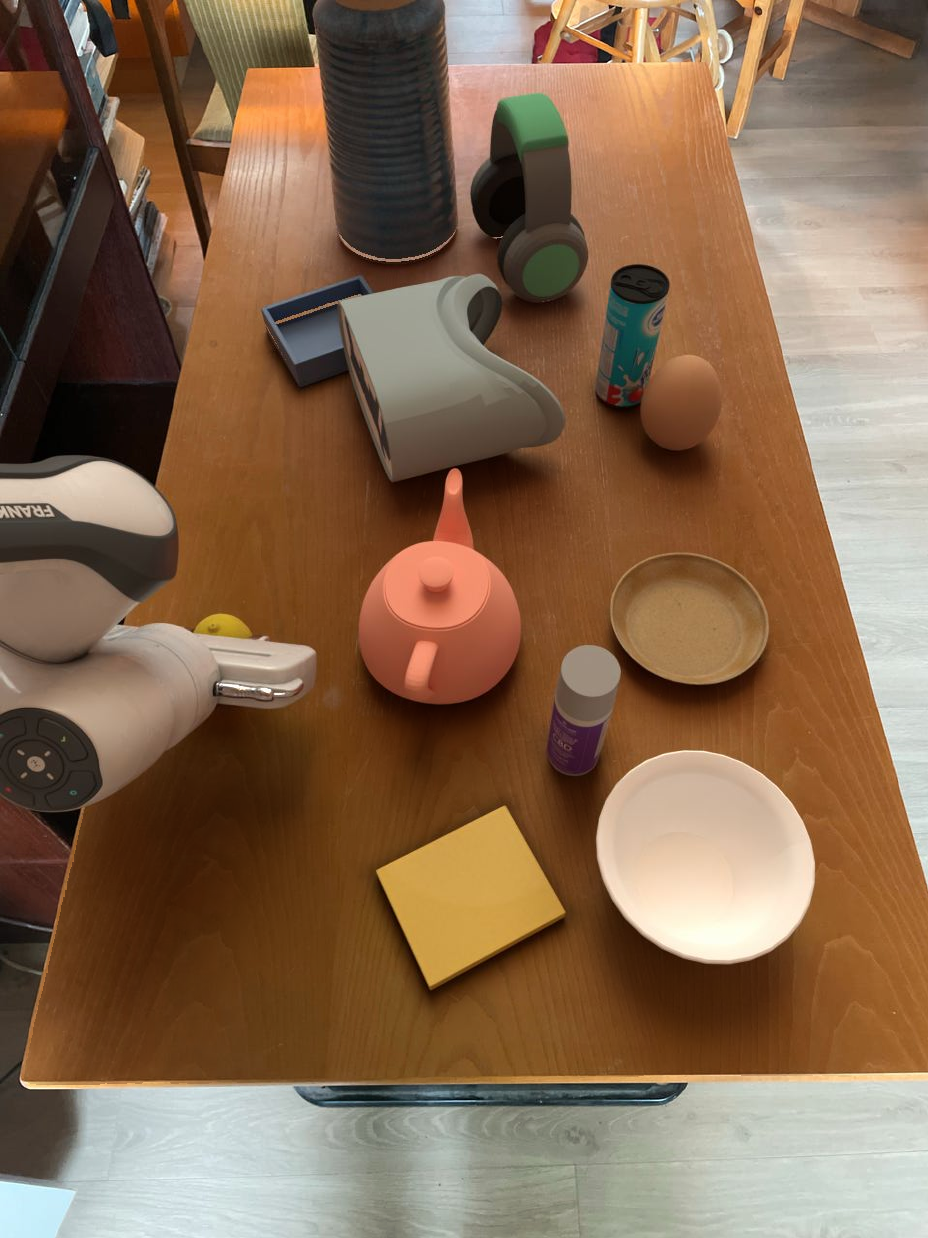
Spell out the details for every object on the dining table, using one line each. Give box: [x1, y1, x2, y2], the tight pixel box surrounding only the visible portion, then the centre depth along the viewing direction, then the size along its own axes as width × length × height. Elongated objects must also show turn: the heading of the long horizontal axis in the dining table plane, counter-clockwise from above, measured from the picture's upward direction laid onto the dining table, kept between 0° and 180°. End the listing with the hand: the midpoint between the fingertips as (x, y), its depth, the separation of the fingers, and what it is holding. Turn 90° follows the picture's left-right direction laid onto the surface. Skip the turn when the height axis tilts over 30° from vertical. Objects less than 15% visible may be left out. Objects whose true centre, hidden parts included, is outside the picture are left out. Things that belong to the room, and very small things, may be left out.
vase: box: [312, 0, 459, 265], centre depth 105 cm, size 16×16×32 cm
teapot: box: [357, 467, 522, 705], centre depth 79 cm, size 22×15×12 cm
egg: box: [640, 354, 723, 451], centre depth 93 cm, size 8×8×11 cm
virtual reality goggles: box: [337, 273, 566, 483], centre depth 95 cm, size 22×19×13 cm
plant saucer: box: [609, 552, 770, 686], centre depth 83 cm, size 15×15×3 cm
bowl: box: [595, 750, 816, 965], centre depth 68 cm, size 16×16×9 cm
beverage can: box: [594, 263, 671, 410], centre depth 95 cm, size 6×6×15 cm
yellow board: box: [375, 805, 566, 991], centre depth 71 cm, size 12×10×2 cm
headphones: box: [469, 92, 589, 303], centre depth 106 cm, size 19×11×20 cm, turn 15°
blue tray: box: [260, 274, 375, 388], centre depth 106 cm, size 13×11×4 cm
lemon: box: [194, 613, 253, 639], centre depth 80 cm, size 6×6×8 cm
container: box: [546, 644, 622, 777], centre depth 72 cm, size 5×5×15 cm
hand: (224, 639), depth 80 cm, fingers closed on lemon, 5 cm apart
